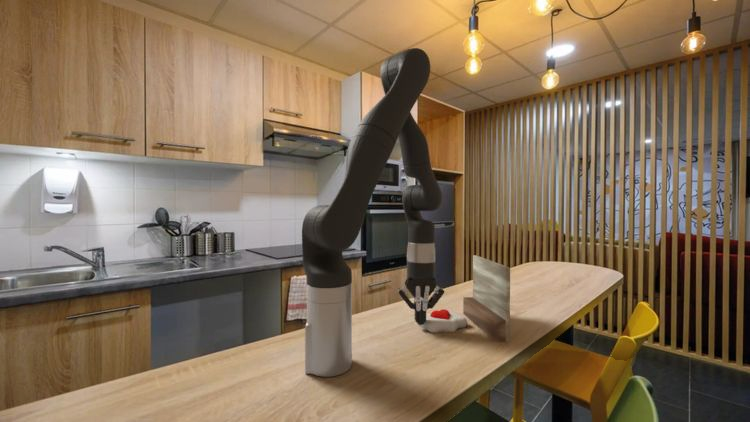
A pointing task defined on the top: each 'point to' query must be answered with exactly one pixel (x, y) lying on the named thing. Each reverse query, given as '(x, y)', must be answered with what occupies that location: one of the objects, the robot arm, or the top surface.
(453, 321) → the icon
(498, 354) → the top surface
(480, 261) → the display ledge
